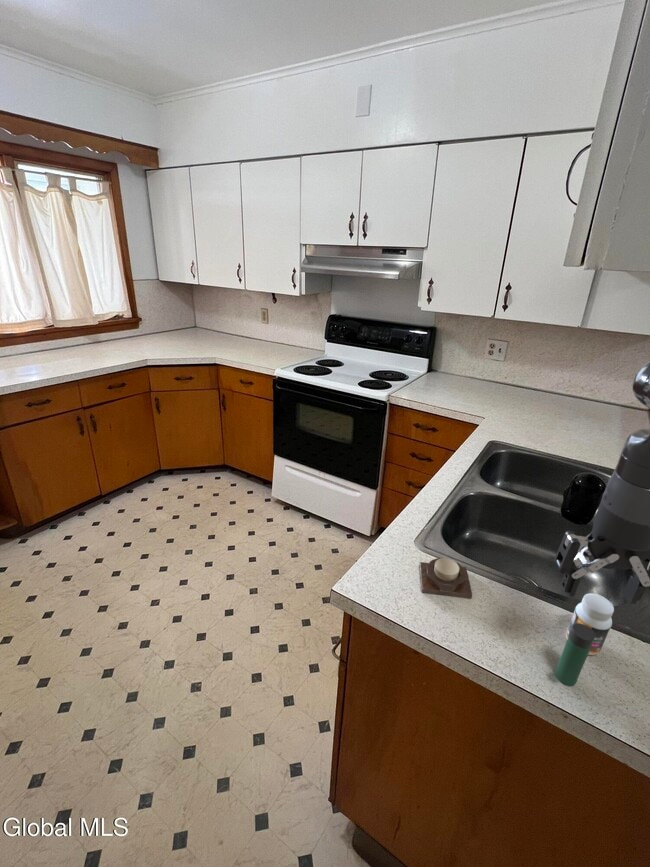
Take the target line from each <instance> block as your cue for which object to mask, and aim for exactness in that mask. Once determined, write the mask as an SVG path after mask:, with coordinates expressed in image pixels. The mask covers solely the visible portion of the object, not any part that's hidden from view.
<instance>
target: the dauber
mask: <svg viewBox="0 0 650 867" xmlns="http://www.w3.org/2000/svg"><path fill="white" fill-rule="evenodd" d="M594 639H595V634H594V632H593V630H592V629H591V628H589V627H588V626H586V625H584V624H580V623H577V624H574V625H573V626H572V629H571V631H570V634H569V637H568V639H567V638H566V641H565V645H564V646H563V650H562V652H561V655H560V658H559V660H558V663H557V665H556V668H555V671H554V675H555V678H556V680H557V681H559V682H560V683H561V684H563V685H565V686H567V687H574V686H575V685H576V684H577V681H578V679H579V677H580V674H581V672H582V671H583V667H584V665H585V663H586V661H587V657H588V656H589V655H588V653H589V651H590V648H591V646H592V644H593V641H594Z"/></svg>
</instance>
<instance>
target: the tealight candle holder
mask: <svg viewBox="0 0 650 867" xmlns="http://www.w3.org/2000/svg"><path fill="white" fill-rule="evenodd" d="M441 558H442V557H437V558H434V559H431V560H430V561H429V562H426V561H425V562H424V561H420V562H419V576H420V589H421V594H425V595H426V594H427V595H436V596H442V597H452V598H453V597H454V598H461V599H469V600H471V599H472V598H473V592H472V591H473V590H472V588H471V583H470V578H469V574H468V569H467V566H462V565H461V564H460V563H459V562H456V561H455V562H456V563H457V564H458V566H459V574H458V578H457V579H456V580H454V581H445V580H442V579H440V578H438V577H437V576H436V575H435V573H434V566H435V562H436V561H437V560H438V559H441Z"/></svg>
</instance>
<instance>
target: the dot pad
mask: <svg viewBox="0 0 650 867" xmlns="http://www.w3.org/2000/svg"><path fill="white" fill-rule="evenodd" d="M440 558H441V559H438V560H437V561H436V562H435V566H434V573H435V575H436V576H437V577H438V578H440V579H442V580H445V581H454V580H456V579H457V578H458V574H459V566H458V564H457V563H458V562H457V563H456V561H455V560H453V559H451V558H445V557H440Z"/></svg>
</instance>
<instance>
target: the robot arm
mask: <svg viewBox="0 0 650 867" xmlns="http://www.w3.org/2000/svg"><path fill="white" fill-rule="evenodd" d="M631 387H632V388H631V389H632V392H633V395H634V397H635V398H636V400H637V401H638V402H639V403H640V404H642V405H643V406H645V407H646V408H648V409H649V410H650V360H649V361H648V362H646V363H645V364H644V365H642V367H641V368H640V369H639V370H638V371H637V372H636V374H635V376H634V379H633V381H632V386H631ZM561 539H562V540H561V542H560V545H559V547H558V549H557V551H556V554H555V556H554V558H553V560H554V563H555V564H556V568H558V571H559V573H560V574H562V575H563V576H562V580H561V583H560V584H561V587H562V588H563V590H564V593H565V594H566V595H567V597H571V598H574V597H575V595H576V593H577V590H578V587H579V585H580V582H581V577H584V576H585V575H587V574H589V573H591V574H594V573H596V572H597V571H599V570H600V569H606V570H611V569H612V570H613V569H616V570H618V571H623V572H624V571H625V572H627V570H630V569H631V571H632V572H633V574H634V575H633V574H631V575H630V576H629V578H628V580H627V583H626V585H625V587H624V590H623V591H622V592H623V597H624V598H625V600H626V601H627V603H628V604H630V605H636V604H637V602H639V601H641V600H642V598H643V596H644V593H645V592H646V590H647V587H648V588H649V587H650V565H649V566H648V569H646V568H645V566H644V564H643V563H642V562H644V561H646V560H647V559H649V558H650V428H640V429H637V430H634V431H633V432H631V433H630V434H629V435H628V436H627V438H626V440H625V442H624V443H623V446H622V449H621V451H620V454H619V457H618V460H617V462H616V465H615V468H614V470H613V472H612V474H611V476H610V478H609V480H608V481H607V483H606V486H605V489H604V492H603V493H602V496H601V499H600V502H599V505H598V508H597V510H596V513H595V517H594V520H593V523H592V530H591V531H590V533H589V534H588V535H586V536H583V535H576V534H575V532H574V531H573V530H567V531H565V533H564V535H563V537H562V538H561ZM590 557H592V558H593V561H591V560H590Z"/></svg>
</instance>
